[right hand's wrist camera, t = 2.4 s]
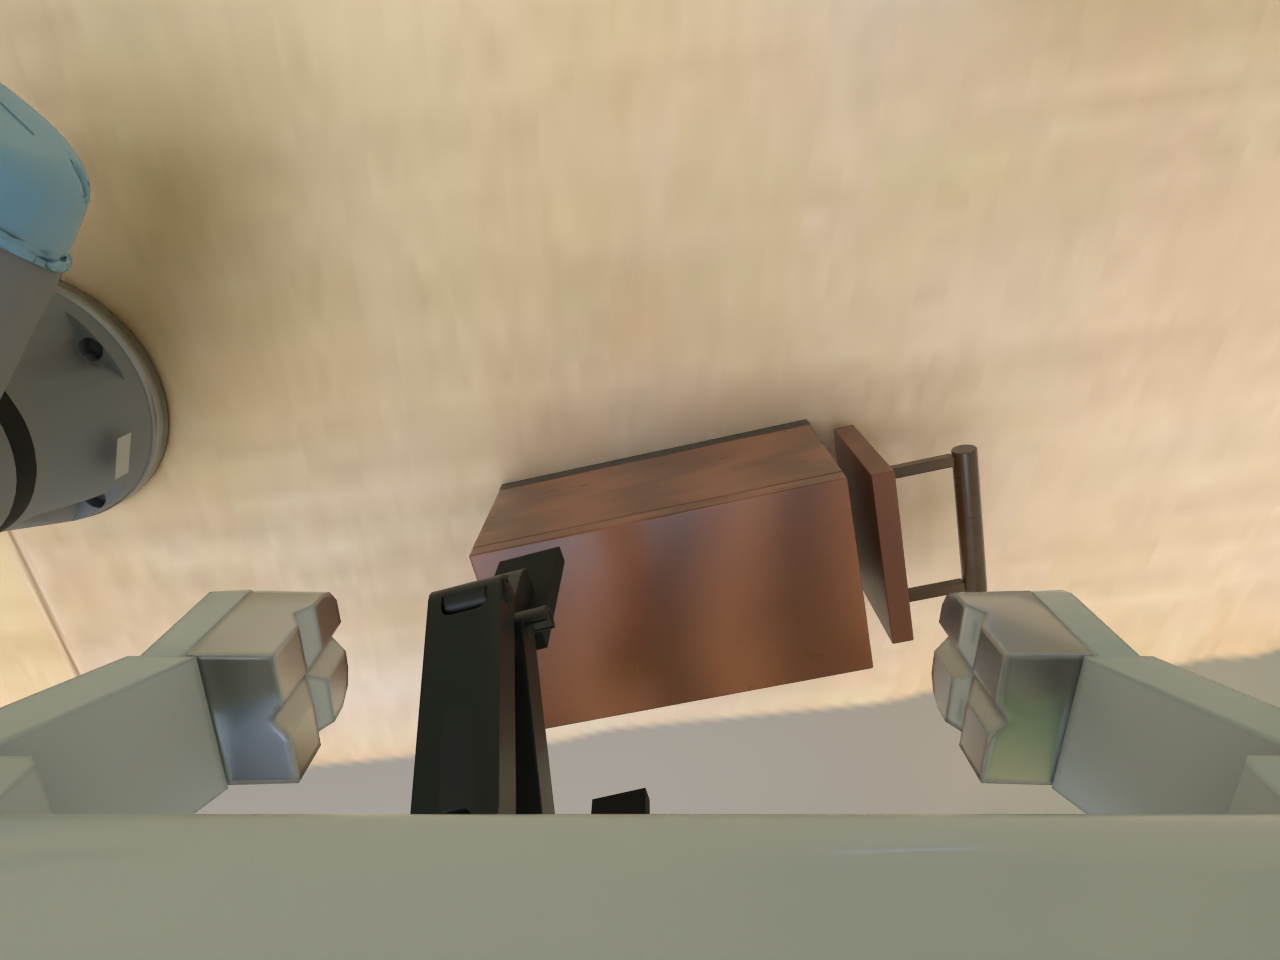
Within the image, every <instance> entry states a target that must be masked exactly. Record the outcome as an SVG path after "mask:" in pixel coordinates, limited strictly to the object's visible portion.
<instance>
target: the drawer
mask: <svg viewBox="0 0 1280 960" xmlns="http://www.w3.org/2000/svg"><path fill="white" fill-rule="evenodd" d="M834 434H835V441H836V448H837V455H838V462H839V467H840V469H841V470H842V472H843V473H844V475H845V476H846V478H847V481H848V488H849V495H850V503H851V510H852V517H853V524H854V531H855V539H856V546H857V553H858V560H859V568H860V575H861V582H862V589H863V591H864V593H865V595H866V596H867V598H868V600H869V602H870V604H871V605H872V607H873V609H874V611H875V613H876V614H877V616H878V618H879V620H880V622H881V624H882V625H883V627H884V629H885V631H886V633H887V634H888V636H889V638H890V640H891V642H892V643H893V644H894V643H900V642H905V641H910V640H913V630H912V622H911V613H910V604H909V602H912V601H917V600H923V599H928V598H933V597H938V596H943V595H947V594H951V593H958V592H986V591H987V580H986V566H985V552H984V537H983V523H982V509H981V495H980V481H979V467H978V453H977V447H975V446H973V445H960V446H956V447H954V448H952V450H951V454H952V455H951V454H946V455H941V456H936V457H931V458H926V459H922V460H917V461H912V462H907V463H902V464H897V465H893V466H889V465H888V464H887V463H886V462H885V460H884V459H883V458H882V457H881V456H880V455H879V454H878V453H877V451H876V450H875V449H874V448H873V447H872V446H871V445H870V444H869V442H868V441H867V440H866V439H865V438H864V437H863V436H862V435H861V434H860V432H859V431H858V430H857V429H856V428H855V427H854V426H853V425H850V426H845V427H840V428H836V429H834ZM949 467H953V478H954V490H955V502H956V514H957V526H958V537H959V549H960V561H961V573H962V579H961V578H959V579H954V580H949V581H944V582H939V583H933V584H928V585H923V586H918V587H913V588H908V586H907V578H906V569H905V560H904V551H903V542H902V534H901V525H900V516H899V507H898V498H897V490H896V481H895V479H896V478H901V477H906V476H910V475H915V474H920V473H925V472H930V471H935V470H940V469H944V468H949Z"/></svg>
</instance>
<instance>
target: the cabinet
mask: <svg viewBox="0 0 1280 960" xmlns="http://www.w3.org/2000/svg"><path fill="white" fill-rule="evenodd" d="M559 546H560V549H561V552H562V555H563V557H564V560H565V564H564V568H563V573H562V578H561V583H560V588H559V593H558V598H557V603H556V608H555V613H554V618H553V619H554V623H555V628H553V629H551V633H550V638H549V643H548V648H544V649H540V650H536V651H537V660H538V669H539V678H540V687H541V696H542V705H543V714H544V723H545V729H546V728H552V727H557V726H563V725H568V724H573V723H579V722H584V721H589V720H595V719H600V718H606V717H611V716H616V715H622V714H627V713H633V712H638V711H643V710H649V709H654V708H659V707H665V706H670V705H676V704H681V703H686V702H692V701H697V700H702V699H708V698H713V697H719V696H724V695H729V694H735V693H740V692H746V691H751V690H756V689H762V688H767V687H772V686H778V685H783V684H789V683H794V682H799V681H805V680H810V679H816V678H821V677H826V676H832V675H837V674H842V673H848V672H853V671H859V670H864V669H869V668H873V662H872V654H871V647H870V640H869V633H868V626H867V618H866V611H865V604H864V597H863V589H862V582H861V575H860V568H859V560H858V553H857V546H856V539H855V531H854V524H853V517H852V510H851V503H850V495H849V488H848V481H847V478H846V476H845V475H844V473H843V472H842V470H841V469H840V467H839V466H838V464H837V463H836V462H835V460H834V459H833V457H832V456H831V455H830V453H829V452H828V450H827V449H826V448H825V446H824V445H823V443H822V442H821V441H820V439H819V438H818V436H817V435H816V433H815V432H814V431H813V429H812V428H811V426H810V425H809V423H808V421H807V420H801V421H797V422H792V423H787V424H783V425H778V426H773V427H769V428H764V429H759V430H755V431H750V432H745V433H741V434H736V435H731V436H727V437H722V438H717V439H713V440H708V441H703V442H699V443H694V444H689V445H685V446H680V447H675V448H671V449H666V450H661V451H657V452H652V453H647V454H643V455H638V456H633V457H629V458H624V459H619V460H615V461H610V462H605V463H601V464H596V465H591V466H587V467H582V468H577V469H573V470H568V471H563V472H559V473H554V474H549V475H545V476H540V477H535V478H531V479H526V480H521V481H517V482H512V483H507V484H503V485H502V486H501V488H500V491H499V493H498V495H497V498H496V500H495V502H494V504H493V506H492V508H491V510H490V512H489V515H488V517H487V519H486V521H485V523H484V525H483V527H482V529H481V532H480V534H479V536H478V538H477V540H476V542H475V544H474V546H473V549H472V551H471V553H470V556H469V557H470V560H471V563H472V566H473V569H474V572H475V575H476V578H477V581H479V580H483V579H486V578H490V577H493V576H494V575H495V573H496V570H497V567H498V565H499V562H500V561H504V560H508V559H512V558H516V557H519V556H523V555H527V554H531V553H535V552H539V551H543V550H547V549H551V548H555V547H559Z"/></svg>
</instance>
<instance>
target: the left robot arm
mask: <svg viewBox="0 0 1280 960" xmlns="http://www.w3.org/2000/svg"><path fill="white" fill-rule="evenodd" d="M89 201H90V183H89V178H88V175H87V172H86V170H85V167H84V165H83V164H82V162H81V160H80V158H79V157H78V155H77V154H76V152H75V151H74V149H73V148H72V147H71V145H70V144H69V143H68V142H67V141H66V139H65V138H64V137H63V136H62V135H61V134H60V133H59V132H58V131H57V130H56V129H55V128H54V127H53V126H52V125H51V124H50V123H49V122H48V121H47V120H46V119H45V118H44V117H43V116H41V115H40V114H39V113H38V112H37V111H36V110H34V109H33V108H32V107H31V106H30V105H28V104H27V103H26V102H25V101H23V100H22V99H21V98H20V97H18V96H17V95H16V94H15V93H13V92H12V91H11V90H9V89H8V88H7V87H5V86H4V85H3V84H1V83H0V532H2V531H8V530H15V529H22V528H28V527H35V526H42V525H49V524H55V523H62V522H69V521H75V520H78V519H82V518H86V517H90V516H93V515H96V514H99V513H101V512H103V511H106V510H108V509H110V508H111V507H113V506H115V505H116V504H118V503H120V502H122V501H123V500H125V499H126V498H128V497H130V496H131V495H133V494H134V493H136V492H137V491H138V490H139V489H141V488H142V487H143V486H144V485H145V484H146V483H147V482H148V480H149V479H150V478H151V477H152V475H153V474H154V472H155V471H156V469H157V467H158V466H159V463H160V461H161V459H162V457H163V453H164V450H165V447H166V442H167V436H168V412H167V405H166V400H165V396H164V392H163V388H162V385H161V382H160V380H159V377H158V375H157V373H156V370H155V368H154V366H153V364H152V362H151V361H150V359H149V357H148V355H147V354H146V352H145V351H144V349H143V348H142V346H141V345H140V343H139V342H138V341H137V339H136V338H135V337H134V336H133V334H132V333H131V332H130V331H129V330H128V329H127V328H126V327H125V325H124V324H123V323H122V322H121V321H120V320H119V319H117V318H116V317H115V316H114V315H113V314H112V313H111V312H110V311H109V310H107V309H106V308H105V307H103V306H102V305H101V304H100V303H98V302H97V301H95V300H94V299H92V298H91V297H89V296H88V295H86V294H84V293H83V292H81V291H79V290H77V289H76V288H74V287H71V286H69V285H67V284H65V283H63V282H60V281H59V279H60V277H61V275H62V273H64V272H65V271H68V270H69V269H70V267H71V264H72V256H71V254H70V250H71V247H72V245H73V242H74V240H75V237H76V235H77V232H78V230H79V227H80V225H81V222H82V220H83V217H84V215H85V212H86V210H87V207H88V204H89ZM564 564H565V560H564V557H563V555H562V552H561V549H560V546H559V547H555V548H551V549H547V550H543V551H539V552H535V553H531V554H527V555H523V556H519V557H516V558H512V559H508V560H504V561H500V562H499V565H498V567H497V570H496V573H495V575H494V576H493V577H490V578H486V579H483V580H479V581H475V582H471V583H467V584H463V585H459V586H455V587H451V588H447V589H443V590H440V591H436V592H432V593H431V594H430V595H429V600H428V610H427V622H426V634H425V646H424V658H423V670H422V682H421V694H420V706H419V718H418V730H417V742H416V754H415V766H414V778H413V790H412V802H411V814H555V812H554V803H553V795H552V785H551V776H550V768H549V758H548V749H547V740H546V732H545V723H544V714H543V705H542V696H541V687H540V678H539V669H538V660H537V651H536V650H540V649H544V648H548V643H549V638H550V633H551V629H553V628H555V623H554V619H553V618H554V613H555V608H556V603H557V598H558V593H559V588H560V583H561V578H562V573H563V568H564ZM591 814H650V804H649V797H648V794H647V791H646V789H645V788H643V789H638V790H633V791H629V792H624V793H620V794H615V795H611V796H606V797H602V798H597V799H593V800H592V811H591Z"/></svg>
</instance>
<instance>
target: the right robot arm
mask: <svg viewBox="0 0 1280 960" xmlns="http://www.w3.org/2000/svg"><path fill="white" fill-rule="evenodd" d="M340 623H341V620H340V615H339V610H338V605H337V600H336V599H335V598H334V597H333V596H332V594H331V593H330V592H289V591H252V590H236V591H215V592H209V593H208V594H207V595H206V596H205V597H204V598H203V599H202V600H201V601H200V602H198V603H197V604H196V605H195V606H194V607H193V608H192V609H191V610H190V611H189V612H188V613H186V614H185V615H184V616H183V617H182V618H181V619H180V620H179V621H178V622H177V623H176V624H174V625H173V626H172V627H171V628H170V629H169V630H168V631H167V632H166V633H165V634H164V635H162V636H161V637H160V638H159V639H158V640H157V641H156V642H155V643H154V644H153V645H151V646H150V647H149V648H148V649H147V650H146V651H145V652H144V653H143V654H142V655H141V656H127V657H124V658H122V659H119V660H117V661H114V662H112V663H109V664H107V665H105V666H102V667H100V668H97V669H95V670H92V671H90V672H87V673H85V674H82V675H80V676H77V677H75V678H73V679H70V680H68V681H65V682H63V683H60V684H58V685H55V686H53V687H50V688H48V689H45V690H43V691H41V692H38V693H36V694H33V695H31V696H28V697H26V698H23V699H21V700H18V701H16V702H13V703H11V704H9V705H6V706H4V707H1V708H0V960H1280V708H1278V707H1276V706H1274V705H1271V704H1269V703H1266V702H1264V701H1261V700H1259V699H1256V698H1254V697H1251V696H1249V695H1247V694H1244V693H1242V692H1239V691H1237V690H1234V689H1232V688H1229V687H1227V686H1224V685H1222V684H1220V683H1217V682H1215V681H1212V680H1210V679H1207V678H1205V677H1202V676H1200V675H1198V674H1195V673H1193V672H1190V671H1188V670H1185V669H1183V668H1180V667H1178V666H1175V665H1173V664H1171V663H1168V662H1166V661H1163V660H1161V659H1158V658H1156V657H1153V656H1139V655H1138V654H1137V653H1136V652H1135V651H1134V650H1133V649H1132V648H1131V647H1130V646H1129V645H1128V644H1126V643H1125V642H1124V641H1123V640H1122V639H1121V638H1120V637H1119V636H1118V635H1117V634H1116V633H1114V632H1113V631H1112V630H1111V629H1110V628H1109V627H1108V626H1107V625H1106V624H1105V623H1104V622H1102V621H1101V620H1100V619H1099V618H1098V617H1097V616H1096V615H1095V614H1094V613H1093V612H1092V611H1091V610H1089V609H1088V608H1087V607H1086V606H1085V605H1084V604H1083V603H1082V602H1081V601H1080V600H1079V599H1077V598H1076V597H1075V596H1074V595H1073V594H1072V593H1070V592H1067V591H1063V590H1048V591H1000V592H958V593H951V594H947V596H946V598H945V600H944V602H943V604H942V609H941V614H940V620H939V623H940V624H941V626H942V627H943V629H944V630H945V632H946V634H947V635H948V637H947V638H946V640H945V641H944V642H943V643H942V644H941V645H940V646H939V647H938V648H937V649H936V650H935V651H934V658H933V666H932V682H933V692H934V696H935V699H936V703H937V706H938V709H939V710H940V712H941V714H942V716H943V718H944V720H945V721H946V722H947V723H949V724H950V725H952V726H954V727H955V728H957V729H958V730H960V731H962V733H961V738H960V744H959V746H960V747H961V749H962V751H963V752H964V754H965V756H966V758H967V759H968V761H969V763H970V764H971V766H972V768H973V769H974V771H975V773H976V775H977V776H978V778H979V780H980V781H981V783H997V784H1033V785H1052V789H1054V790H1055V791H1056V792H1058V793H1059V794H1060V795H1062V796H1063V797H1064V798H1066V799H1067V800H1068V801H1070V802H1071V803H1072V804H1074V805H1075V806H1077V807H1078V808H1079V809H1080V810H1082V811H1083V812H1084V813H1086V814H194V813H196V812H197V811H198V810H200V809H201V808H202V807H204V806H205V805H206V804H208V803H209V802H211V801H212V800H213V799H215V798H216V797H217V796H219V795H220V794H221V793H223V792H224V791H225V790H226V789H228V785H246V784H282V783H299V781H300V780H301V778H302V776H303V775H304V773H305V771H306V770H307V768H308V766H309V764H310V763H311V761H312V759H313V758H314V756H315V754H316V753H317V751H318V749H319V747H320V746H321V744H320V738H319V733H318V732H319V731H320V730H322V729H323V728H325V727H326V726H328V725H330V724H331V723H333V722H334V721H335V720H336V718H337V716H338V714H339V712H340V710H341V708H342V707H343V703H344V699H345V695H346V690H347V686H348V664H347V657H346V651H345V650H344V649H343V648H342V647H341V646H340V645H339V644H338V643H337V642H336V641H335V639H334V638H333V637H332V635H333V634H334V632H335V630H336V629H337V627H338V626H339V624H340Z"/></svg>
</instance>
